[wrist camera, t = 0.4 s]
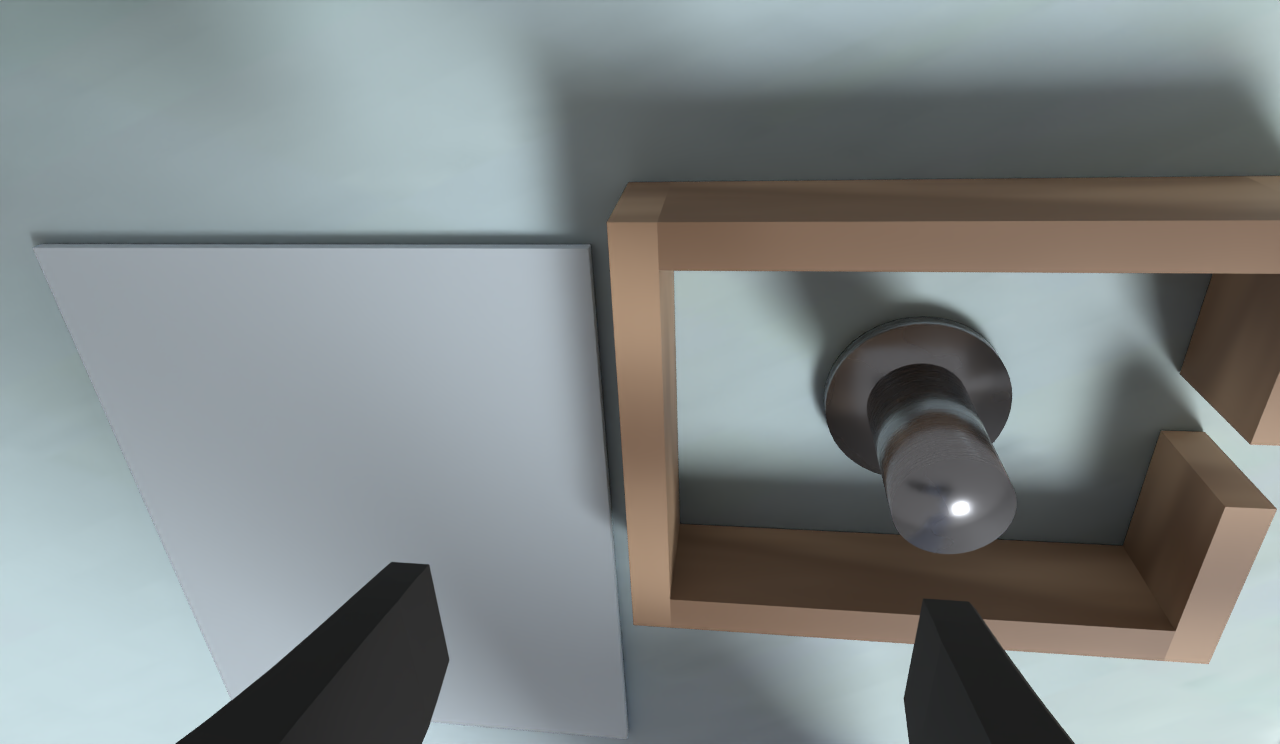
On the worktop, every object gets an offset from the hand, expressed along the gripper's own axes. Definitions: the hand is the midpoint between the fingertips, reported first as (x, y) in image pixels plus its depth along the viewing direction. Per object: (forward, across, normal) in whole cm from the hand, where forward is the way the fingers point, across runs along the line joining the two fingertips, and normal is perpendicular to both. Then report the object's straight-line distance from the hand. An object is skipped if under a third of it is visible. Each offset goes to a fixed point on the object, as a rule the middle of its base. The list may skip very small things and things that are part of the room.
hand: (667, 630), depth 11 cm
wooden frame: (+9, -5, +1) cm, 11 cm away
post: (+9, -5, +1) cm, 11 cm away
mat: (+9, +10, +6) cm, 15 cm away
